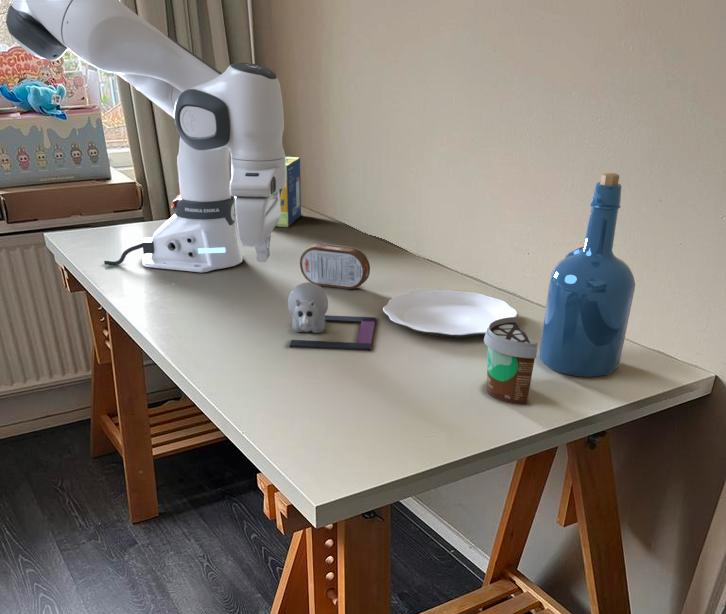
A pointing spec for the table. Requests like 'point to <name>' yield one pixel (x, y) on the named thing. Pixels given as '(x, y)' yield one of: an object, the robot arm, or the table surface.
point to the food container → (509, 361)
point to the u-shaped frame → (362, 342)
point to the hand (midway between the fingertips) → (263, 259)
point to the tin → (334, 266)
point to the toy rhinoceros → (308, 307)
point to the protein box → (290, 193)
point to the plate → (447, 312)
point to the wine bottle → (589, 296)
